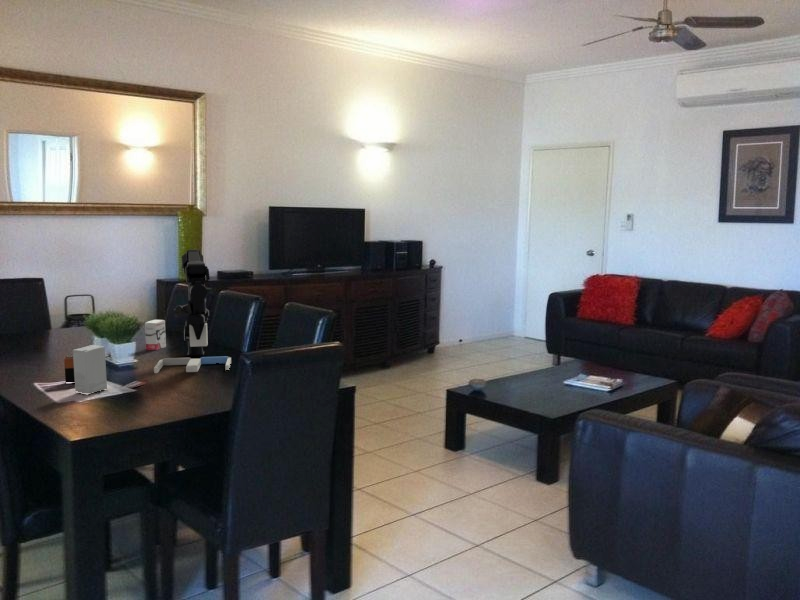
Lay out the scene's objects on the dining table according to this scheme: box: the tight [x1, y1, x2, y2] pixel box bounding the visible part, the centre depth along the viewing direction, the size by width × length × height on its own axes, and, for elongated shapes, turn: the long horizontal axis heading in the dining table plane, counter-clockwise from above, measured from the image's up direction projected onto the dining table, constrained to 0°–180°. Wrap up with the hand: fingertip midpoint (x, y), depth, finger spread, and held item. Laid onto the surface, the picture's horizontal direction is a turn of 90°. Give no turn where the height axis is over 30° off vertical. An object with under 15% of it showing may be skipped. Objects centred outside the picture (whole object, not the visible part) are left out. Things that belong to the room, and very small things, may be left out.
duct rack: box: [153, 355, 232, 374], centre depth 271 cm, size 14×26×2 cm, turn 100°
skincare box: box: [72, 344, 108, 393], centre depth 235 cm, size 8×6×15 cm
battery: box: [63, 353, 75, 383], centre depth 248 cm, size 4×7×10 cm, turn 110°
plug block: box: [189, 323, 209, 347], centre depth 270 cm, size 4×6×8 cm, turn 99°
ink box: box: [144, 319, 167, 351], centre depth 307 cm, size 8×5×12 cm, turn 169°
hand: (198, 338), depth 270 cm, fingers closed on plug block, 4 cm apart
